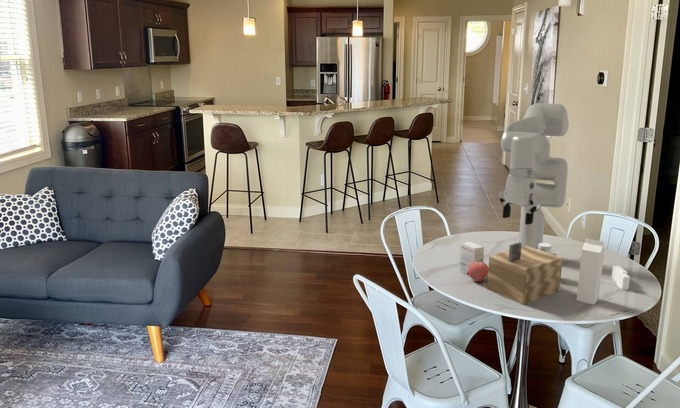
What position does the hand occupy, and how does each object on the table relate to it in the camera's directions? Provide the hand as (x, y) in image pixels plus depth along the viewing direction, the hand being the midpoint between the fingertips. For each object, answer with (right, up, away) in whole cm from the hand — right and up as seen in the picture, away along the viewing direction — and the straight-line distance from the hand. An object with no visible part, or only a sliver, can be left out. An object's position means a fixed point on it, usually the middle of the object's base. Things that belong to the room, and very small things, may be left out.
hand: (517, 220), depth 197 cm
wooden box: (+5, -26, +10) cm, 28 cm away
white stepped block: (+43, -25, +16) cm, 52 cm away
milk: (+25, -28, +2) cm, 38 cm away
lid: (+5, -14, +7) cm, 17 cm away
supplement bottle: (+17, -22, +23) cm, 36 cm away
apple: (-9, -23, +19) cm, 32 cm away
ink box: (-10, -22, +27) cm, 36 cm away
